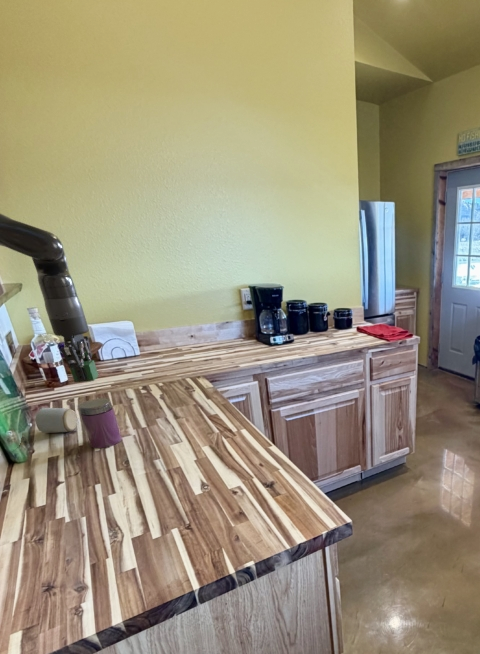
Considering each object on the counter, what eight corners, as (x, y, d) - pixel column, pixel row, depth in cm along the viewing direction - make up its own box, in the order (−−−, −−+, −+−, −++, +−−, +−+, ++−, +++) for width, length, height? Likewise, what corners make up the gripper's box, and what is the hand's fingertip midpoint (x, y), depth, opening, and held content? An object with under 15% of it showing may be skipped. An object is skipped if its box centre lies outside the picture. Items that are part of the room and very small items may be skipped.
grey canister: (69, 435, 125) (61, 411, 122) (39, 437, 124) (31, 413, 121) (87, 421, 135) (80, 399, 132) (60, 423, 134) (52, 400, 131)
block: (74, 382, 111) (69, 366, 109) (79, 377, 115) (74, 361, 113) (93, 380, 113) (89, 364, 111) (98, 375, 116) (93, 360, 115)
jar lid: (76, 416, 113) (74, 409, 112) (85, 406, 120) (83, 400, 119) (108, 413, 116) (106, 406, 115) (114, 403, 122) (112, 397, 121)
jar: (86, 450, 117) (73, 412, 112) (94, 437, 124) (83, 402, 119) (118, 445, 120) (107, 408, 115) (124, 434, 126) (114, 399, 122)
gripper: (59, 311, 112) (78, 372, 119) (37, 321, 99) (60, 388, 106) (91, 309, 114) (108, 369, 121) (74, 319, 102) (94, 385, 109)
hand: (86, 377), depth 114 cm, fingers closed on block, 4 cm apart
